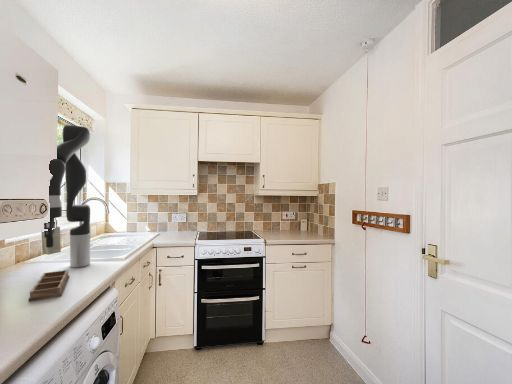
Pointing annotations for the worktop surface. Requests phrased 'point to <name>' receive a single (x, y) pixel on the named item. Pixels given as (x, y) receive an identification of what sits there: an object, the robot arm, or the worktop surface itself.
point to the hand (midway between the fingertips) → (51, 245)
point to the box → (56, 242)
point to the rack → (49, 285)
